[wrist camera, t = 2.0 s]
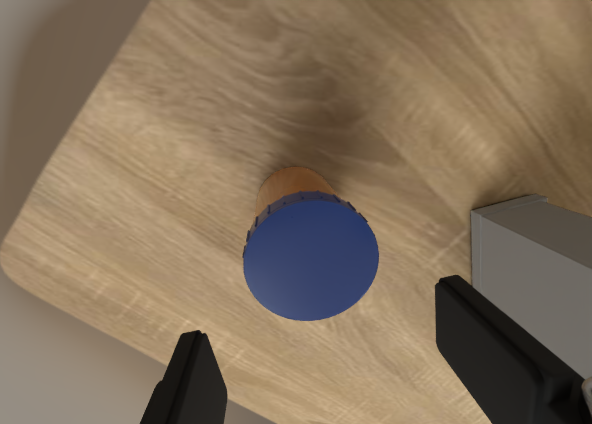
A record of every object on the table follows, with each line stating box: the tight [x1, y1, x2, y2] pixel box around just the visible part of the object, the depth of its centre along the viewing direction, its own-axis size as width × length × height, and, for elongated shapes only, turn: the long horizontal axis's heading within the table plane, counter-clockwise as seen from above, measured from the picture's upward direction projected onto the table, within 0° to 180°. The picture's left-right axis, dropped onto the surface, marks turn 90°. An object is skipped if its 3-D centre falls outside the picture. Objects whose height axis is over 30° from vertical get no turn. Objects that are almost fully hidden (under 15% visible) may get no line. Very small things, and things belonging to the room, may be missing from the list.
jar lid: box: [243, 190, 379, 321], centre depth 15 cm, size 7×7×2 cm
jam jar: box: [253, 167, 340, 223], centre depth 19 cm, size 6×6×10 cm
